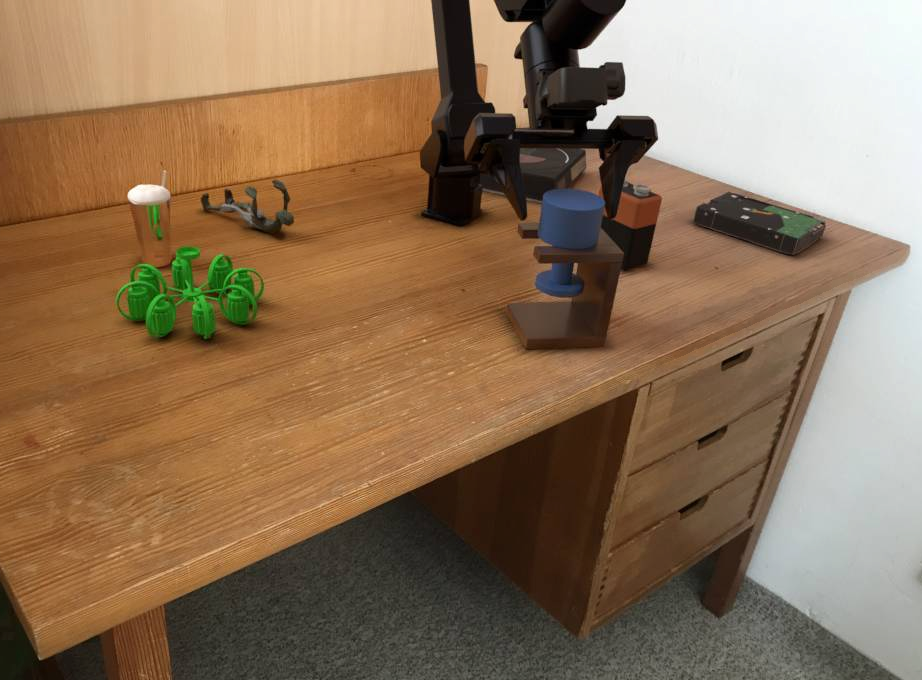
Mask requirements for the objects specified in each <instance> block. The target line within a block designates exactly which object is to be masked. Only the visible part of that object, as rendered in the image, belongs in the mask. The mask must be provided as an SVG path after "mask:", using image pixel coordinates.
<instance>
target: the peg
mask: <svg viewBox="0 0 922 680" xmlns="http://www.w3.org/2000/svg"><path fill="white" fill-rule="evenodd" d="M604 207H605V201H604V200H603V199H602V198H601V197H600V196H598V194H596V193H593V192H590V191H587V190H583V189H576V188H567V189H553V190H550V191H547V192H546V193H544V195H543V200H542V203H541V208H540V214H539V221H538V223H539V227H538V237H539V238H540V240H541V241H542V242H543V243H545V244H548V245H549V246H556V247H560V248H565V249H586V248H590V247H593V246H595V245H596V244H597V242H598V238H599V233H600V228H601V222H602V217H603V212H604ZM574 267H575V263H551V268H550V269H548V270H543V271H541V272H539V273H537V275H536V277H535V282H534V286H535V288H536V289H537V290H538V291H539V292H541V293H543V294H545V295H547V296H550V297H554V298H562V299H563V298H564V299H567V298H572V297H576V296H578V295H580V294H581V293H582V292H583V290H584V285H585V283H584V280H583V279H582V278H581V277H579V276H578V275H576V273H574Z"/></svg>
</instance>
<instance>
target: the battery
mask: <svg viewBox="0 0 922 680" xmlns="http://www.w3.org/2000/svg"><path fill="white" fill-rule="evenodd" d="M652 190H653V189H652V187H651V186H650V185H647V184H643V183H638V184H637V183H636V184H634V183H631V182H629V179H628V178H626V177H625V180H624V184H623V189H622V193H621V198H620V202H619V206H618V211H617V215H616V217H615V218H614V219H613V220H609V219H608V216H607V213H606V210H605V207H604V212H603V217H602V222H601V228H602V230H604V232H605V233H606V234H607V235H608V236H609V237H610V238H611V239H612V240H613V242H614V243H615V244H616V245H617V246H618V247H619V248H620V249H621V251H622V252H623V253H624V256H623V260H622V266H621V270H622V271H630V270H632V269H635V268H636V269H637V268H639V267H643V266H646V265H647V264H648V262H649V258H650V255H651V254H650V253H651V249H652V245H653V240H654V237H655V231H656V228H657V222H658V218H659V215H660V211H661V206H662V201H663V197H662V195H660V194H658V193H657V192H656V193H655V192H654V191H652ZM597 195H598V196H600V197H601V198H602V199H603V200H604V198H603V192H602V186H601V184H600V185H599V188H598V192H597Z"/></svg>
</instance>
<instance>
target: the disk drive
mask: <svg viewBox="0 0 922 680" xmlns="http://www.w3.org/2000/svg"><path fill="white" fill-rule="evenodd" d="M693 223H695V224H697V225H699V226H702V227H705V228H708V229H711V230H713V231H715V232H716V231H717V232H719V233H722V234H725V235H728V236H731V237H735V238H738V239H742V240H744V241H748V242H751V243H752V244H755V245H758V246H761V247H764V248H767V249H770V250H773V251H775V252H776V251H777V252H780V253H785V254H787V255H792V256H795V255H796V254H799V253H801V252H802V251H803V250H805V249H806V248H808V247H809V246H811V245H812V244H814V243H815V242H817V241H818V240H820V239H821V238H822V237H823V235H824V233H825V230H826V227H827V225H826V221H825V220H823V219H820V218H818V217H817V218H816V217H814V216H812V215H810V214H806V213H802V212H797V211H795V210H792V209H790V208H789V209H788V208H785V207H782V206H779V205H776V204H772V203H769V202H765V201H762V200H758V199H756V198H752V197H749V196H745V195H743V194H739V193H735V192H731V191H727V192H724V193H722V194H721V195H719V196H716V197H714V198H712V199H710V201H709V202H708V203H706V202H705V203H701V204H700V205H699V204H698V205H697V206H696V209H695V212H694V217H693Z"/></svg>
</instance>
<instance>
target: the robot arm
mask: <svg viewBox="0 0 922 680" xmlns="http://www.w3.org/2000/svg"><path fill="white" fill-rule="evenodd" d="M493 2H494V4H495V6H496V9H497V11H498V13H499V15H500V17H501V18H502V20H503V21H504V22H506V23H529V25H527V26H526V28H525V29H524V31H523V32H522V33H521V34H520V37H519V42H518V44H517V45H516V47H515V49H514V53H513V58H514V59H515V60H521V61H522V68H523V79H524V89H525V95H524V97H523V98H522V103H523V109H527V116H528V126H529V127H517V120H516V116H515V115H514V114H513V113H508V112H507V113H503V112H502V113H501V112H500V113H499V112H497V113H496V108H495V106H494V104H493V102H492V101H491V102H490V101H489V102H486V101H485V100H484V98H483V97H482V95H481V94H480V92H479V86H478V76H477V65H476V56H475V55H476V54H475V43H474V35H473V34H474V33H473V23H472V11H471V3H470V0H430V3H431V13H432V23H433V31H434V32H433V33H434V42H435V50H436V51H435V52H436V60H437V61H436V62H437V71H438V72H437V73H438V81H439V90H440V91H439V93H440V101H439V103H438V105H437V108H436V109H435V112H434V114H433V116H432V118H431V122H430V127H431V128H430V129H431V132H430V135H429V137H428V138H427V139H426V141H425V142H424V144H423V145H422V147H421V149H420V150H419V163H420V169H421V170H423V171H424V172H425V173H426V174H427V175H429V176H428V188H427V189H428V190H427V203H426V204H427V205H426V208H424V209H422V210H421V211H420V215H421V216H424V217H426V218H431V219H435V220H438V221H440V222H441V221H442V222H445V223H449V224H452V225H457V226H464V225H465V224H467V223H468V222H470V221H472V220H473V219H475V218H476V217H478V216H479V215H480V214H482V213H483V209H482V208H481V206H482V195H483V191H482V187H483V186H482V185H481V184H480V175H481V174H485V173H486V174H490V176H491V177H492V178H493V179H494V181H495V182H496V183H497V185H498V186H499V187H500V188H501V190H502V191H503V193H504V194H505V195H504V196H505V198H506V199H507V201H508V202H509V204H510V205H511V207H512V209H513V210H514V212H515V214H516V216H517V218H518V219H519V220H520V222H525V221H526V219H527V218H528V203H527V200H526V195H525V190H524V184H523V178H522V173H521V167H520V148H560V149H583V150H598V156H599V159H600V160H601V161H602V163H601V164H600V165H599V167H598V173H599V179H600V185H601V186H602V192H603V198H604V201H605V210H606V213H607V216H608V219H609V220H613V219H614V218H615V217H616V215H617V211H618V206H619V202H620V198H621V193H622V189H623V184H624V180H625V178H626V176H627V174H628V170H629V169H630V167H631V166H632V165H635V164H637V163H638V162H640V161H641V159H643V157H644V156H645V155H646V154H647V153H648V151H650V150H651V148H652V147H653V146H654V145H655V144H656V143H657V142H658V141H659V133H658V127H657V123H656V122H655V120H654V119H653V118H652V117H651V116H649V115H621V114H620V115H616V116H615V118H613V120H612V121H611V122H610V124H609V125H608V127H607V128H588V122H593V121H595V119H596V117H597V116H598V111H597V108H598V107H600V106H607V105H608V101H616V100H617V99H620V98H622V97H623V96H624V95H625V92H626V73H625V68H624V63H623V61H622V62H621V61H620V62H619V61H606V62H604V63H603V64H601V65H599V67H584V66H581V65H580V64H581V63H580V57H579V51H580V50H585V49H587V48H589V47H590V46H592V44H593V43H594V42H595V41H596V40H597V39H598V37H599V36H600V35H601V34H602V32H603V31H605V29H606V28H607V27H608V25H610V23H611V22H612V21H613V20H614V18H615V17H616V16H617V15H618V14H619V12H621V10H622V9H623V8H624V7H625V5H626V2H627V0H493Z"/></svg>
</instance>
